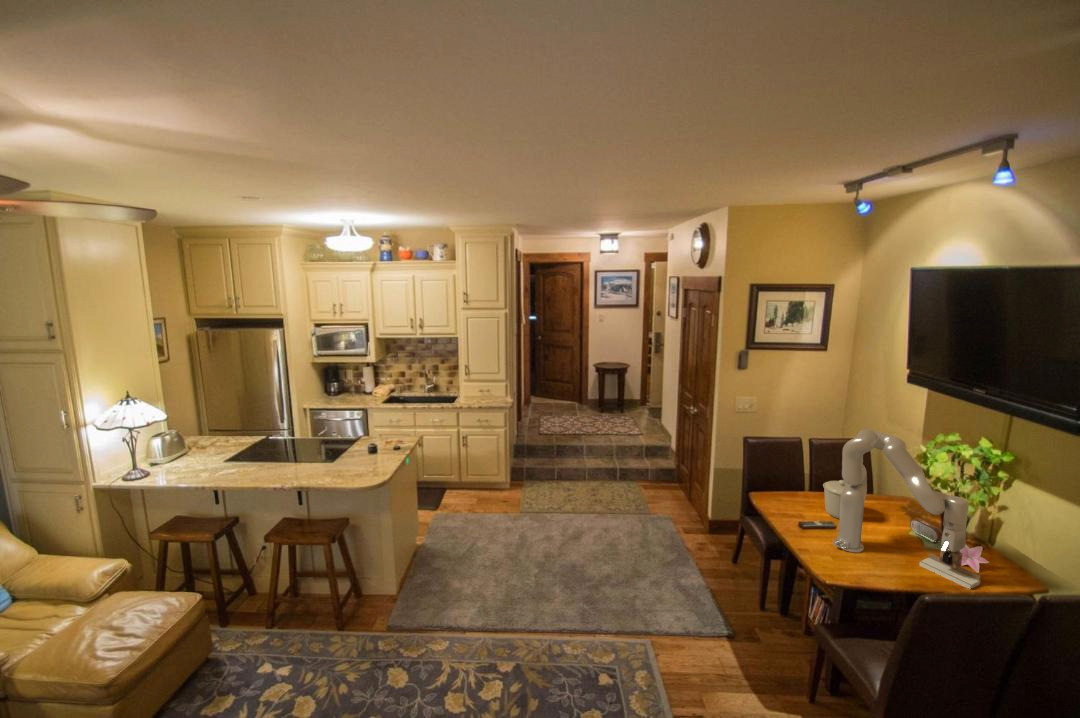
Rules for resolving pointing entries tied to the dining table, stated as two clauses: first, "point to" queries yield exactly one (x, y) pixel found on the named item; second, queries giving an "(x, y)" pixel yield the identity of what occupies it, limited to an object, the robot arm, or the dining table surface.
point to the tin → (926, 529)
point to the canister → (833, 497)
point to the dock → (951, 572)
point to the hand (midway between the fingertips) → (950, 561)
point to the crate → (953, 558)
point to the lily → (972, 557)
